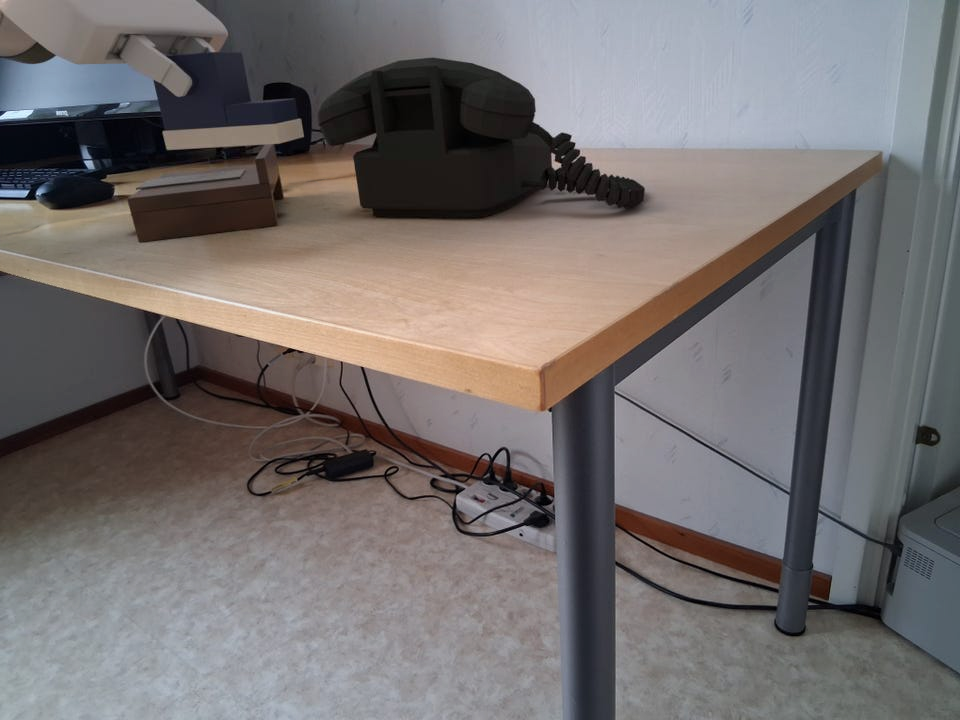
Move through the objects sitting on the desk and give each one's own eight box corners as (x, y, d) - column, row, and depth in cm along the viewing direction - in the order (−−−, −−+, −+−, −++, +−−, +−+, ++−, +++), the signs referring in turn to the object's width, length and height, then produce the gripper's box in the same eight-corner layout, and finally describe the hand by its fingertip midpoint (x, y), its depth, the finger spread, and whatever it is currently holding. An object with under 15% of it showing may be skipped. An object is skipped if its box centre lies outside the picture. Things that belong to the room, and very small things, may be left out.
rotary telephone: (672, 181, 79) (676, 37, 73) (626, 225, 61) (626, 38, 55) (417, 183, 93) (404, 62, 87) (319, 219, 75) (294, 69, 69)
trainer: (166, 150, 57) (144, 57, 54) (198, 143, 62) (179, 57, 59) (279, 143, 55) (263, 47, 52) (304, 136, 60) (290, 48, 57)
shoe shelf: (133, 243, 71) (114, 173, 69) (169, 210, 89) (155, 153, 87) (277, 225, 74) (264, 157, 71) (284, 196, 92) (273, 141, 89)
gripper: (132, 6, 65) (249, 109, 67) (-54, -13, 47) (115, 130, 49) (163, -54, 63) (283, 56, 65) (-20, -98, 44) (156, 56, 46)
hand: (210, 88), depth 57 cm, fingers closed on trainer, 5 cm apart
